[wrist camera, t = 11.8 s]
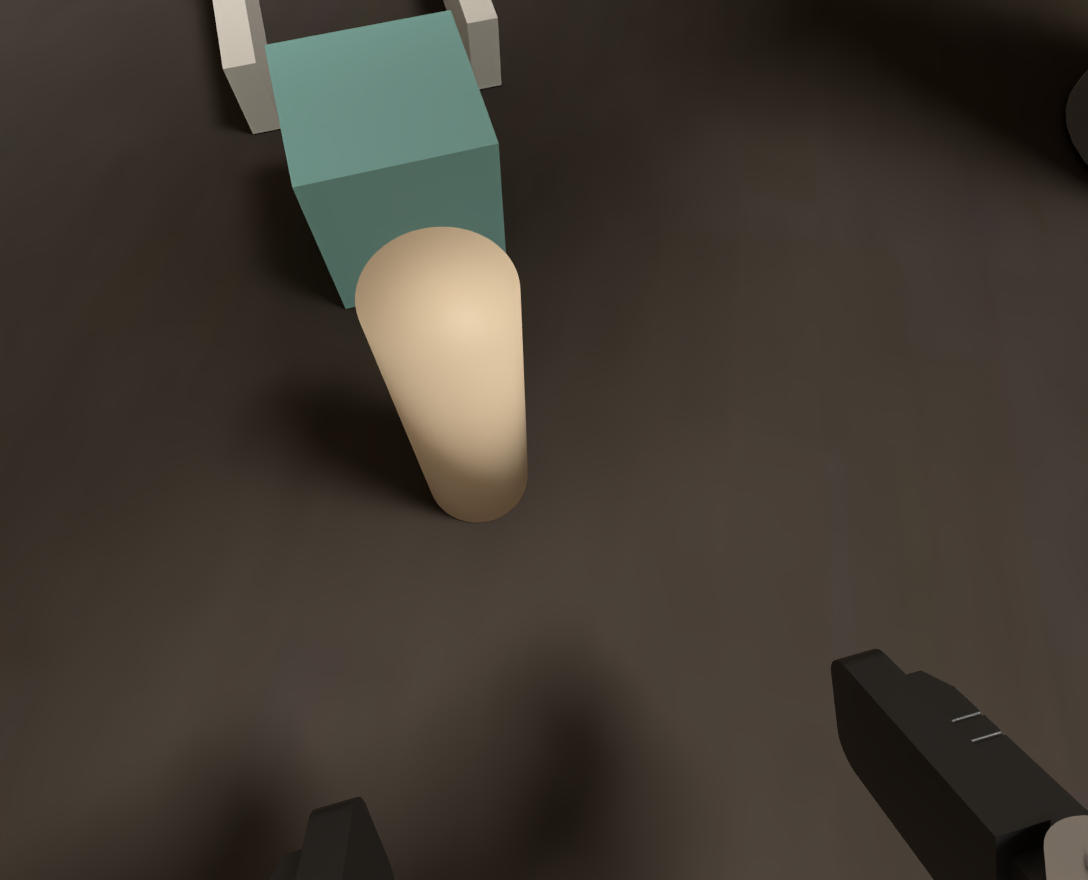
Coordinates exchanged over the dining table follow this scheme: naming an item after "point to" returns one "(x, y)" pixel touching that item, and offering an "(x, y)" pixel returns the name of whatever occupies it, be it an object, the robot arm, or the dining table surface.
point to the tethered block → (416, 240)
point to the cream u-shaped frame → (251, 71)
